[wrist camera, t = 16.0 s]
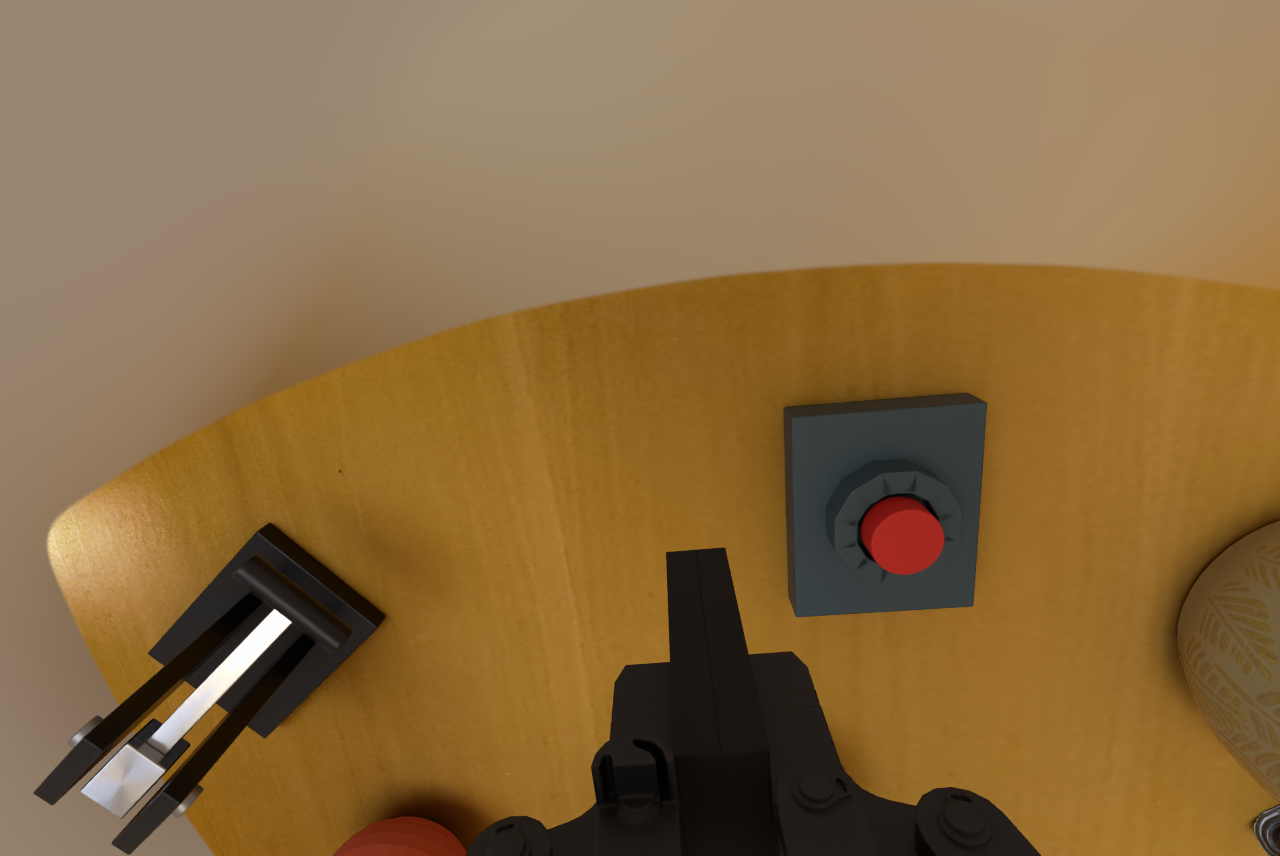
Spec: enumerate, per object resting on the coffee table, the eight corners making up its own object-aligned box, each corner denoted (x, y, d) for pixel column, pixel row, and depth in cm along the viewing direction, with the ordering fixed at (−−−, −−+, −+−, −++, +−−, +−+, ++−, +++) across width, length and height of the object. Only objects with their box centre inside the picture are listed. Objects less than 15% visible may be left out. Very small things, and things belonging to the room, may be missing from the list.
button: (860, 498, 33) (871, 512, 31) (932, 493, 33) (946, 507, 31) (860, 560, 34) (870, 577, 32) (929, 556, 34) (943, 572, 32)
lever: (263, 548, 32) (245, 559, 30) (358, 623, 33) (348, 639, 31) (75, 739, 31) (40, 767, 28) (181, 811, 32) (155, 843, 29)
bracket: (269, 521, 38) (87, 656, 26) (386, 615, 40) (266, 783, 28) (162, 641, 41) (-49, 814, 29) (276, 724, 43) (122, 921, 31)
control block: (783, 406, 35) (798, 427, 32) (968, 392, 35) (1006, 411, 31) (788, 597, 39) (802, 636, 35) (956, 586, 38) (989, 625, 35)
